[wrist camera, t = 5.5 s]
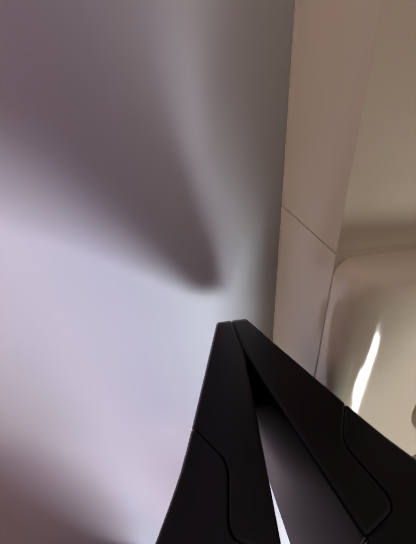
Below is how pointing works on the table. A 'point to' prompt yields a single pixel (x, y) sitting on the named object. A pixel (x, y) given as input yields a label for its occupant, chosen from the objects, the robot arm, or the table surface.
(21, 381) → the table surface
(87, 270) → the table surface
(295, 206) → the electrical outlet
